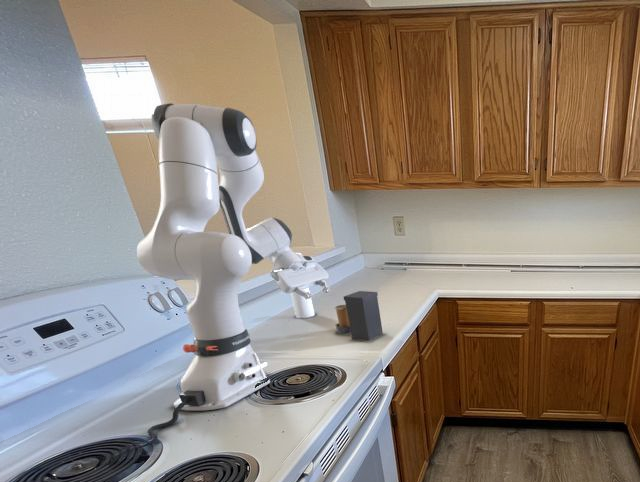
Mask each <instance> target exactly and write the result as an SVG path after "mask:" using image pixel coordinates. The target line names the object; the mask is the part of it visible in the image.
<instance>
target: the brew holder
mask: <svg viewBox="0 0 640 482" xmlns="http://www.w3.org/2000/svg"><path fill="white" fill-rule="evenodd" d="M335 331H336V333H337V334H339V335H349V334H351V330H350V326H346V327H340V326H339V322H338V323H336V324H335Z"/></svg>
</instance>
